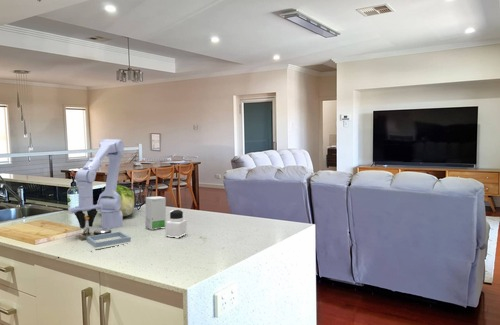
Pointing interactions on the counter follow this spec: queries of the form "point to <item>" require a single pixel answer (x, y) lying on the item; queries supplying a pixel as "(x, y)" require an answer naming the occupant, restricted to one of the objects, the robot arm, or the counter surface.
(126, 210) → the lettuce
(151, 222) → the skincare box
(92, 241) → the tray
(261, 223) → the counter surface
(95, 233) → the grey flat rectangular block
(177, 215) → the medicine bottle
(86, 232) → the lock pin
